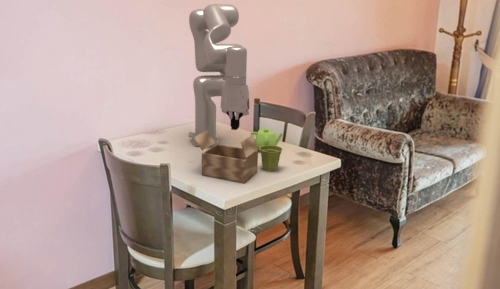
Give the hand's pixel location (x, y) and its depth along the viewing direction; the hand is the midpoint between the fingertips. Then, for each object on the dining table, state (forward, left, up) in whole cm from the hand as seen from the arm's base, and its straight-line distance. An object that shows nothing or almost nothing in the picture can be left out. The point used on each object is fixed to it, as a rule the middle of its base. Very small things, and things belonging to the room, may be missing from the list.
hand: (234, 128), depth 186 cm
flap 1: (-13, 0, -6) cm, 14 cm away
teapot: (0, +35, -19) cm, 40 cm away
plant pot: (+10, +13, -19) cm, 25 cm away
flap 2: (+6, 0, -6) cm, 8 cm away
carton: (-2, 0, -19) cm, 19 cm away
